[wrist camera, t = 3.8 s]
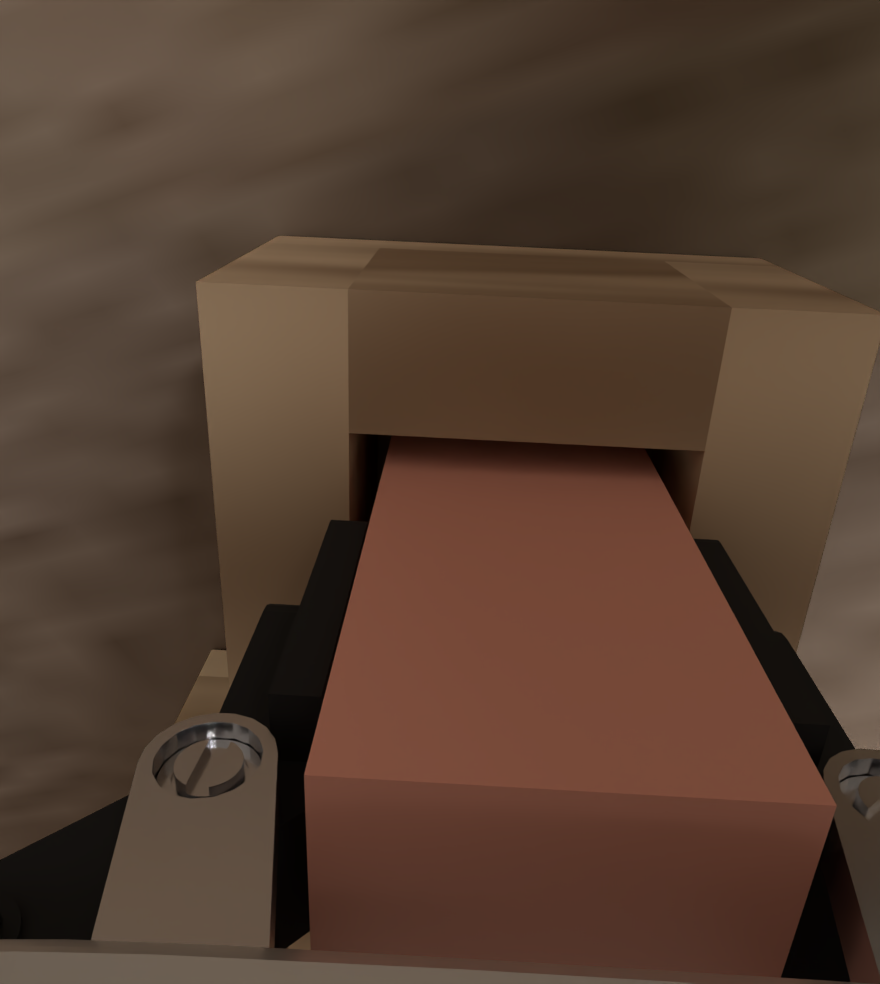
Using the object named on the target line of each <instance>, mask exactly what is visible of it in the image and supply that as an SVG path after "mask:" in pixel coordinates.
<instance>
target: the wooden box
mask: <svg viewBox="0 0 880 984" xmlns="http://www.w3.org/2000/svg"><path fill="white" fill-rule="evenodd" d="M196 291H197V303H198V315H199V327H200V339H201V351H202V363H203V375H204V387H205V399H206V411H207V423H208V435H209V447H210V460H211V472H212V484H213V496H214V508H215V520H216V532H217V544H218V556H219V568H220V580H221V592H222V604H223V616H224V628H225V640H226V650H211V652H210V654H209V656H208V658H207V660H206V662H205V664H204V666H203V668H202V670H201V672H200V674H199V676H198V678H197V680H196V682H195V684H194V686H193V688H192V690H191V692H190V694H189V696H188V698H187V700H186V702H185V704H184V706H183V708H182V710H181V712H180V714H179V716H178V718H177V720H176V722H175V723H178V722H181V721H183V720H186V719H189V718H192V717H194V716H200V715H206V714H212V713H219V712H220V710H221V707H222V705H223V703H224V700H225V698H226V696H227V694H228V691H229V689H230V687H231V684H232V682H233V680H234V677H235V675H236V673H237V670H238V668H239V666H240V663H241V661H242V659H243V656H244V654H245V652H246V649H247V647H248V645H249V642H250V640H251V638H252V636H253V633H254V631H255V629H256V626H257V624H258V622H259V619H260V617H261V615H262V612H263V610H264V609H265V607H266V605H268V604H285V605H300V603H301V600H302V598H303V595H304V592H305V589H306V587H307V584H308V581H309V578H310V575H311V573H312V570H313V567H314V564H315V562H316V559H317V556H318V553H319V550H320V548H321V545H322V542H323V539H324V536H325V534H326V531H327V528H328V525H329V523H330V521H331V520H345V521H365V522H370V518H371V514H372V510H373V506H374V502H375V499H376V495H377V491H378V487H379V483H380V479H381V475H382V471H383V468H384V464H385V460H386V456H387V452H388V448H389V444H390V441H391V437H392V435H396V436H415V437H435V438H455V439H474V440H494V441H514V442H533V443H553V444H573V445H592V446H612V447H632V448H645V450H646V452H647V454H648V456H649V457H650V459H651V461H652V463H653V465H654V467H655V469H656V470H657V472H658V474H659V476H660V478H661V480H662V482H663V483H664V485H665V487H666V489H667V491H668V493H669V495H670V497H671V498H672V500H673V502H674V504H675V506H676V508H677V510H678V511H679V513H680V515H681V517H682V519H683V521H684V523H685V524H686V526H687V528H688V530H689V532H690V534H691V536H692V537H693V539H709V540H718V541H719V542H720V543H721V544H722V546H723V547H724V549H725V551H726V552H727V554H728V556H729V557H730V559H731V561H732V562H733V564H734V566H735V567H736V569H737V571H738V572H739V574H740V576H741V577H742V579H743V581H744V582H745V584H746V586H747V587H748V589H749V591H750V592H751V594H752V596H753V597H754V599H755V601H756V602H757V604H758V606H759V607H760V609H761V611H762V612H763V614H764V615H765V617H766V619H767V620H768V622H769V624H770V625H771V627H772V629H773V630H774V631H777V632H781V633H782V634H783V635H784V636H785V637H786V638H787V640H788V641H789V643H790V644H791V646H792V648H793V649H794V651H795V652H796V651H797V648H798V644H799V640H800V636H801V633H802V629H803V625H804V622H805V618H806V614H807V611H808V607H809V603H810V599H811V596H812V592H813V588H814V585H815V581H816V577H817V573H818V570H819V566H820V562H821V559H822V555H823V551H824V548H825V544H826V540H827V536H828V533H829V529H830V525H831V522H832V518H833V514H834V511H835V507H836V503H837V499H838V496H839V492H840V488H841V485H842V481H843V477H844V473H845V470H846V466H847V462H848V459H849V455H850V451H851V448H852V444H853V440H854V436H855V433H856V429H857V425H858V422H859V418H860V414H861V411H862V407H863V403H864V399H865V396H866V392H867V388H868V385H869V381H870V377H871V374H872V370H873V366H874V362H875V359H876V355H877V351H878V348H879V344H880V312H879V311H877V310H875V309H872V308H870V307H868V306H866V305H864V304H861V303H859V302H857V301H855V300H852V299H850V298H848V297H846V296H843V295H841V294H839V293H837V292H835V291H832V290H830V289H828V288H826V287H823V286H821V285H819V284H817V283H814V282H812V281H810V280H808V279H806V278H803V277H801V276H799V275H797V274H794V273H792V272H790V271H788V270H785V269H783V268H781V267H779V266H777V265H774V264H772V263H770V262H768V261H765V260H763V259H761V258H742V257H721V256H700V255H679V254H657V253H636V252H615V251H594V250H572V249H551V248H530V247H509V246H487V245H466V244H445V243H424V242H402V241H381V240H360V239H339V238H317V237H296V236H277V237H276V238H274V239H272V240H270V241H268V242H267V243H265V244H263V245H261V246H259V247H258V248H256V249H254V250H252V251H250V252H249V253H247V254H245V255H243V256H241V257H240V258H238V259H236V260H234V261H232V262H231V263H229V264H227V265H225V266H224V267H222V268H220V269H218V270H216V271H215V272H213V273H211V274H209V275H207V276H206V277H204V278H202V279H200V280H198V281H197V282H196ZM288 948H289V949H301V950H311V945H310V932H308V933H307V934H305V935H304V936H303V937H301V938H300V939H298V940H297V941H296V942H294V943H293V944H291V945H290V946H289V947H288Z"/></svg>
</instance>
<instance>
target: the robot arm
mask: <svg viewBox="0 0 880 984" xmlns="http://www.w3.org/2000/svg"><path fill="white" fill-rule="evenodd" d="M368 526H369V522H365V521H345V520H331V521H330V523H329V525H328V528H327V531H326V534H325V536H324V539H323V542H322V545H321V548H320V550H319V553H318V556H317V559H316V562H315V564H314V567H313V570H312V573H311V575H310V578H309V581H308V584H307V587H306V589H305V592H304V595H303V598H302V600H301V603H300V605H285V604H268V605H266V607H265V609H264V610H263V612H262V615H261V617H260V619H259V622H258V624H257V626H256V629H255V631H254V633H253V636H252V638H251V640H250V642H249V645H248V647H247V649H246V652H245V654H244V656H243V659H242V661H241V663H240V666H239V668H238V670H237V673H236V675H235V677H234V680H233V682H232V684H231V687H230V689H229V691H228V694H227V696H226V698H225V700H224V703H223V705H222V707H221V710H220V712H219V713H212V714H206V715H200V716H194V717H192V718H189V719H186V720H183V721H181V722H178V723H175V724H174V725H172V726H170V727H169V728H167V729H166V730H164V731H162V732H161V733H159V734H158V735H157V736H156V737H155V738H154V739H153V740H152V741H151V742H150V743H149V744H148V745H147V746H146V747H145V748H144V750H143V752H142V754H141V757H140V759H139V761H138V763H137V766H136V770H135V774H134V778H133V781H132V785H131V789H130V793H129V795H128V796H126V797H124V798H122V799H120V800H118V801H116V802H114V803H112V804H110V805H108V806H106V807H104V808H102V809H100V810H98V811H96V812H94V813H92V814H90V815H88V816H87V817H85V818H83V819H81V820H79V821H77V822H75V823H73V824H71V825H69V826H67V827H65V828H63V829H61V830H59V831H57V832H55V833H53V834H51V835H49V836H47V837H45V838H43V839H41V840H39V841H37V842H35V843H33V844H31V845H29V846H27V847H25V848H23V849H21V850H19V851H17V852H15V853H13V854H11V855H9V856H7V857H5V858H3V859H1V860H0V984H880V750H871V749H855V748H854V746H853V745H852V743H851V741H850V740H849V738H848V737H847V735H846V733H845V732H844V730H843V728H842V727H841V725H840V724H839V722H838V720H837V719H836V717H835V716H834V714H833V712H832V711H831V709H830V707H829V706H828V704H827V703H826V701H825V699H824V698H823V696H822V695H821V693H820V691H819V690H818V688H817V686H816V685H815V683H814V682H813V680H812V678H811V677H810V675H809V674H808V672H807V670H806V669H805V667H804V665H803V664H802V662H801V661H800V659H799V657H798V656H797V654H796V652H795V651H794V649H793V648H792V646H791V644H790V643H789V641H788V640H787V638H786V637H785V636H784V635H783V634H782V633H781V632H777V631H774V630H773V629H772V627H771V625H770V624H769V622H768V620H767V619H766V617H765V615H764V614H763V612H762V611H761V609H760V607H759V606H758V604H757V602H756V601H755V599H754V597H753V596H752V594H751V592H750V591H749V589H748V587H747V586H746V584H745V582H744V581H743V579H742V577H741V576H740V574H739V572H738V571H737V569H736V567H735V566H734V564H733V562H732V561H731V559H730V557H729V556H728V554H727V552H726V551H725V549H724V547H723V546H722V544H721V543H720V542H719V541H718V540H709V539H694V541H695V543H696V545H697V547H698V549H699V550H700V552H701V554H702V556H703V558H704V560H705V562H706V563H707V565H708V567H709V569H710V571H711V573H712V575H713V576H714V578H715V580H716V582H717V584H718V586H719V588H720V589H721V591H722V593H723V595H724V597H725V599H726V601H727V602H728V604H729V606H730V608H731V610H732V612H733V614H734V615H735V617H736V619H737V621H738V623H739V625H740V627H741V628H742V630H743V632H744V634H745V636H746V638H747V640H748V642H749V643H750V645H751V647H752V649H753V651H754V653H755V655H756V656H757V658H758V660H759V662H760V664H761V666H762V668H763V669H764V671H765V673H766V675H767V677H768V679H769V681H770V682H771V684H772V686H773V688H774V690H775V692H776V694H777V695H778V697H779V699H780V701H781V703H782V705H783V707H784V708H785V710H786V712H787V714H788V716H789V718H790V720H791V721H792V723H793V725H794V727H795V729H796V731H797V733H798V734H799V736H800V738H801V740H802V742H803V744H804V746H805V747H806V749H807V751H808V753H809V755H810V757H811V759H812V760H813V762H814V764H815V766H816V768H817V770H818V772H819V773H820V775H821V777H822V779H823V781H824V783H825V785H826V787H827V788H828V790H829V792H830V794H831V796H832V798H833V800H834V801H835V803H836V805H837V807H836V810H835V813H834V816H833V819H832V822H831V825H830V828H829V831H828V834H827V838H826V841H825V844H824V847H823V850H822V853H821V856H820V859H819V862H818V865H817V868H816V871H815V874H814V877H813V880H812V883H811V886H810V889H809V892H808V896H807V899H806V902H805V905H804V908H803V911H802V914H801V917H800V920H799V923H798V926H797V929H796V932H795V935H794V938H793V941H792V944H791V947H790V950H789V954H788V957H787V960H786V963H785V966H784V969H783V972H782V975H781V978H779V977H764V976H748V975H731V974H715V973H699V972H683V971H666V970H650V969H634V968H617V967H601V966H584V965H567V964H550V963H534V962H517V961H500V960H483V959H466V958H448V957H430V956H411V955H393V954H375V953H356V952H338V951H320V950H301V949H289V948H288V947H289V946H290V945H291V944H293V943H294V942H296V941H297V940H298V939H300V938H301V937H303V936H304V935H305V934H307V933H308V932H310V919H309V893H308V867H307V841H306V815H305V789H304V773H305V769H306V765H307V761H308V758H309V754H310V750H311V746H312V742H313V738H314V734H315V731H316V727H317V723H318V719H319V715H320V711H321V707H322V703H323V700H324V696H325V692H326V688H327V684H328V680H329V676H330V673H331V669H332V665H333V661H334V657H335V653H336V649H337V645H338V642H339V638H340V634H341V630H342V626H343V622H344V618H345V615H346V611H347V607H348V603H349V599H350V595H351V591H352V587H353V584H354V580H355V576H356V572H357V568H358V564H359V560H360V557H361V553H362V549H363V545H364V541H365V537H366V533H367V529H368Z"/></svg>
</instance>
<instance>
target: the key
mask: <svg viewBox="0 0 880 984" xmlns="http://www.w3.org/2000/svg"><path fill="white" fill-rule="evenodd" d="M304 789H305V815H306V841H307V867H308V893H309V919H310V945H311V950H320V951H338V952H356V953H375V954H393V955H411V956H430V957H448V958H466V959H483V960H500V961H517V962H534V963H550V964H567V965H584V966H601V967H617V968H634V969H650V970H666V971H683V972H699V973H715V974H731V975H748V976H764V977H779V978H781V975H782V972H783V969H784V966H785V963H786V960H787V957H788V954H789V950H790V947H791V944H792V941H793V938H794V935H795V932H796V929H797V926H798V923H799V920H800V917H801V914H802V911H803V908H804V905H805V902H806V899H807V896H808V892H809V889H810V886H811V883H812V880H813V877H814V874H815V871H816V868H817V865H818V862H819V859H820V856H821V853H822V850H823V847H824V844H825V841H826V838H827V834H828V831H829V828H830V825H831V822H832V819H833V816H834V813H835V810H836V807H837V805H836V803H835V801H834V800H833V798H832V796H831V794H830V792H829V790H828V788H827V787H826V785H825V783H824V781H823V779H822V777H821V775H820V773H819V772H818V770H817V768H816V766H815V764H814V762H813V760H812V759H811V757H810V755H809V753H808V751H807V749H806V747H805V746H804V744H803V742H802V740H801V738H800V736H799V734H798V733H797V731H796V729H795V727H794V725H793V723H792V721H791V720H790V718H789V716H788V714H787V712H786V710H785V708H784V707H783V705H782V703H781V701H780V699H779V697H778V695H777V694H776V692H775V690H774V688H773V686H772V684H771V682H770V681H769V679H768V677H767V675H766V673H765V671H764V669H763V668H762V666H761V664H760V662H759V660H758V658H757V656H756V655H755V653H754V651H753V649H752V647H751V645H750V643H749V642H748V640H747V638H746V636H745V634H744V632H743V630H742V628H741V627H740V625H739V623H738V621H737V619H736V617H735V615H734V614H733V612H732V610H731V608H730V606H729V604H728V602H727V601H726V599H725V597H724V595H723V593H722V591H721V589H720V588H719V586H718V584H717V582H716V580H715V578H714V576H713V575H712V573H711V571H710V569H709V567H708V565H707V563H706V562H705V560H704V558H703V556H702V554H701V552H700V550H699V549H698V547H697V545H696V543H695V541H694V539H693V537H692V536H691V534H690V532H689V530H688V528H687V526H686V524H685V523H684V521H683V519H682V517H681V515H680V513H679V511H678V510H677V508H676V506H675V504H674V502H673V500H672V498H671V497H670V495H669V493H668V491H667V489H666V487H665V485H664V483H663V482H662V480H661V478H660V476H659V474H658V472H657V470H656V469H655V467H654V465H653V463H652V461H651V459H650V457H649V456H648V454H647V452H646V450H645V448H632V447H612V446H592V445H573V444H553V443H533V442H514V441H494V440H474V439H455V438H435V437H415V436H396V435H392V437H391V441H390V444H389V448H388V452H387V456H386V460H385V464H384V468H383V471H382V475H381V479H380V483H379V487H378V491H377V495H376V499H375V502H374V506H373V510H372V514H371V518H370V522H369V526H368V529H367V533H366V537H365V541H364V545H363V549H362V553H361V557H360V560H359V564H358V568H357V572H356V576H355V580H354V584H353V587H352V591H351V595H350V599H349V603H348V607H347V611H346V615H345V618H344V622H343V626H342V630H341V634H340V638H339V642H338V645H337V649H336V653H335V657H334V661H333V665H332V669H331V673H330V676H329V680H328V684H327V688H326V692H325V696H324V700H323V703H322V707H321V711H320V715H319V719H318V723H317V727H316V731H315V734H314V738H313V742H312V746H311V750H310V754H309V758H308V761H307V765H306V769H305V773H304Z"/></svg>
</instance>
